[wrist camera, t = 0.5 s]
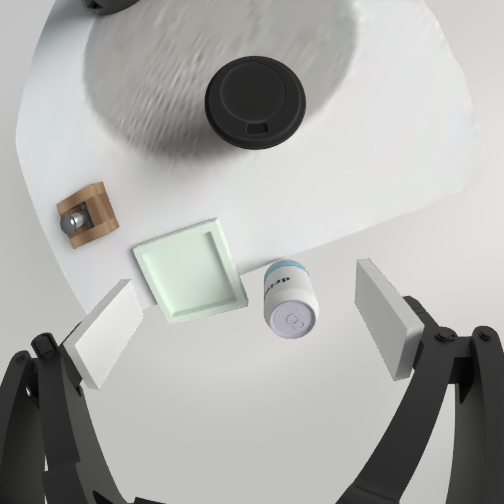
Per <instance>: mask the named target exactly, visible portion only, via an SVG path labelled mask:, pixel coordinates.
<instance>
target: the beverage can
mask: <svg viewBox="0 0 504 504" xmlns="http://www.w3.org/2000/svg"><path fill="white" fill-rule="evenodd" d="M318 316H319V304H318V301H317V298H316V295H315V292H314V289H313V286H312V283H311V280H310V277H309V274H308V271H307V269H306V268H305V267H304V266H303V265H302V264H301V263H300V262H298V261H295V260H291V259H284V260H280V261H277V262H275V263H274V264H272V265H271V266H270V267H269V268H268V270H267V271H266V274H265V277H264V318H265V321H266V323H267V324H268V326H269V327H270V328H271V329H272V330H273V332H274V333H276V334H277V335H278V336H280V337H282V338H286V339H297V338H300V337H303V336H305V335H306V334H308V333H309V332H310V331H311V330H312V329H313V327H314V326H315V323H316V321H317V319H318Z"/></svg>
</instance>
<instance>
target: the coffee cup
mask: <svg viewBox="0 0 504 504" xmlns="http://www.w3.org/2000/svg"><path fill="white" fill-rule="evenodd" d="M305 109H306V97H305V93H304V89H303V86H302V84H301V82H300V80H299V79H298V77H297V76H296V74H295V73H294V72H293V71H292V70H291V69H290V68H288V67H287V66H286V65H284V64H283V63H281V62H279V61H277V60H274V59H272V58H268V57H262V56H248V57H242V58H239V59H236V60H233V61H231V62H229V63H228V64H226V65H225V66H223V67H222V68H221V69H220V70H218V71H217V73H216V74H215V75H214V76H213V78H212V79H211V81H210V83H209V85H208V87H207V90H206V94H205V112H206V116H207V119H208V121H209V123H210V125H211V127H212V128H213V130H214V131H215V132H216V133H217V134H218V135H219V136H220V137H221V138H222V139H223V140H225V141H226V142H228V143H230V144H232V145H234V146H237V147H240V148H244V149H250V150H260V149H267V148H271V147H274V146H276V145H279V144H281V143H282V142H284V141H286V140H287V139H288V138H290V137H291V136H292V135H293V134H294V133H295V132H296V130H297V129H298V128H299V126H300V124H301V122H302V120H303V118H304V114H305Z"/></svg>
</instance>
